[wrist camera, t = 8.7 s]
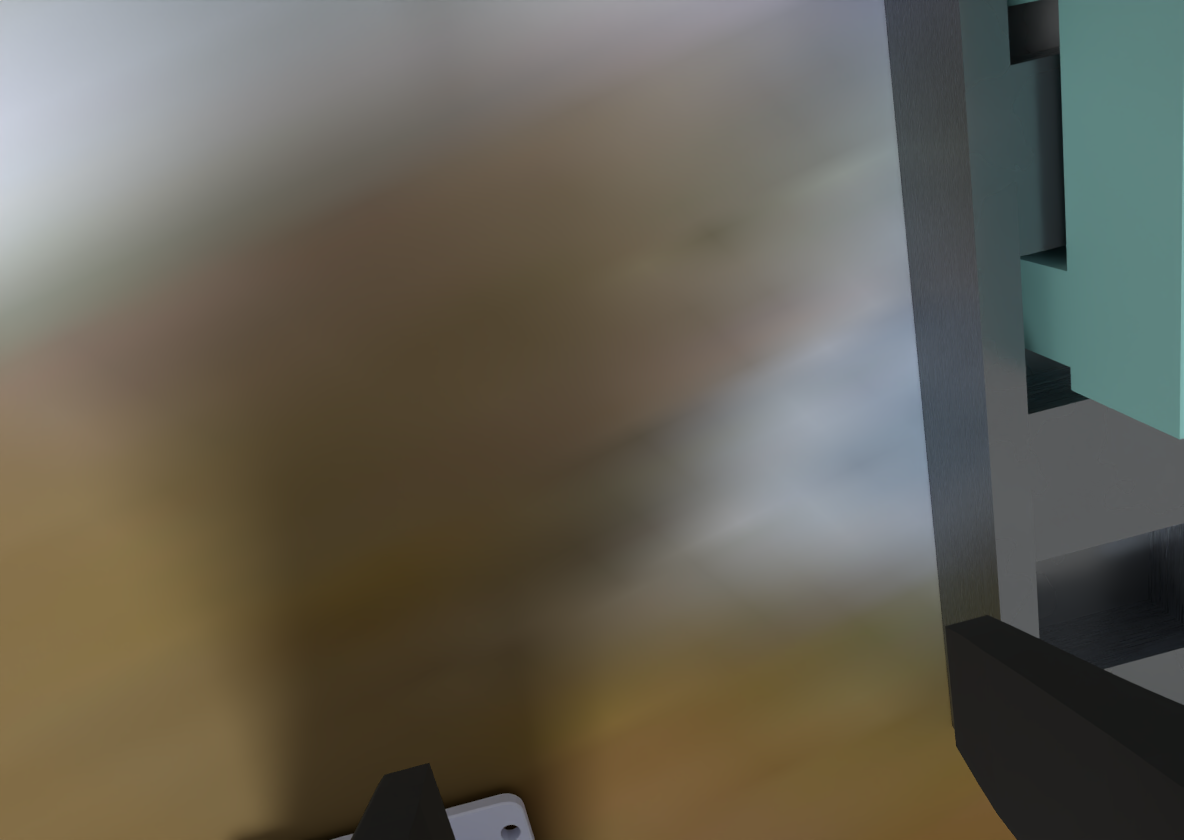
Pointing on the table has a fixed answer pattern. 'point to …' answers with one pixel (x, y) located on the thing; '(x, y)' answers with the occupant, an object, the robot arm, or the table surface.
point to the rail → (1021, 361)
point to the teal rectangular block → (1118, 212)
